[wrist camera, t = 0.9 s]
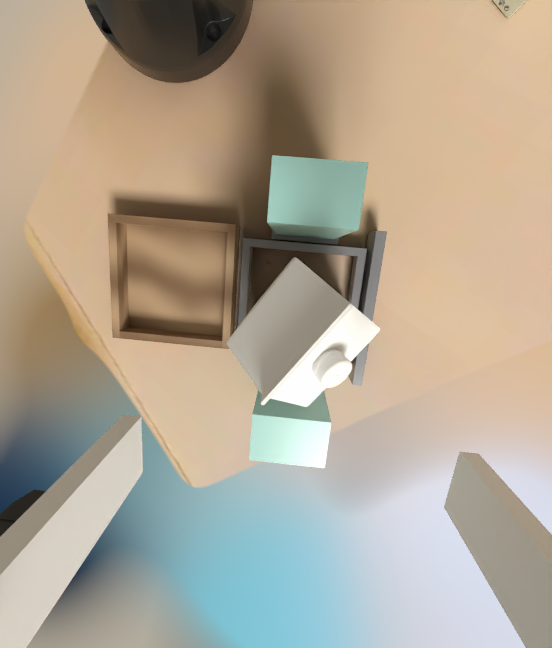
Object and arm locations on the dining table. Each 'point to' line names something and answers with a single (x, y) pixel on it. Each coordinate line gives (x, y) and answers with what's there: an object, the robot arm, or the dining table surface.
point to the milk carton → (300, 337)
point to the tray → (173, 280)
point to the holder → (314, 227)
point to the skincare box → (509, 6)
